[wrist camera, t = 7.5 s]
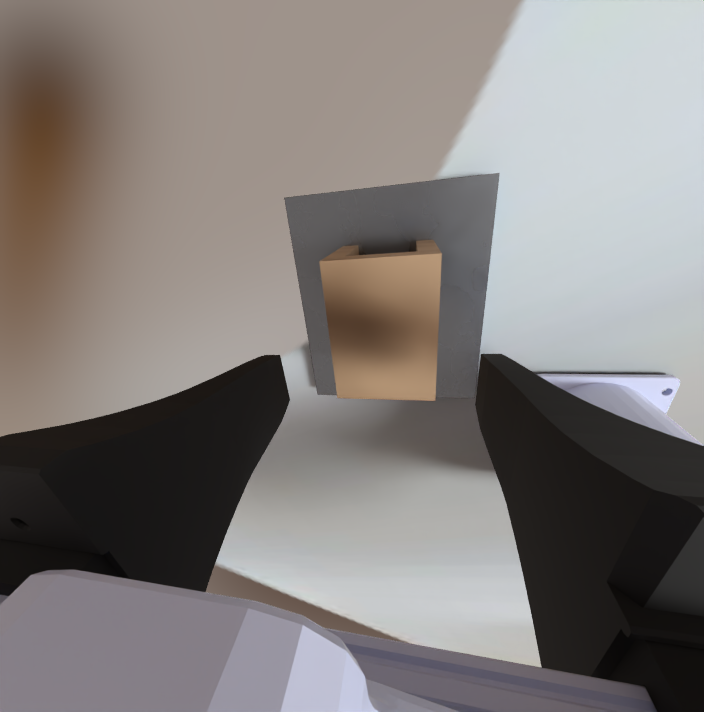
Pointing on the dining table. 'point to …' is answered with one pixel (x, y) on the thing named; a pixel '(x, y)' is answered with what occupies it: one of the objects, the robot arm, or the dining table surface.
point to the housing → (383, 321)
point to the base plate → (399, 234)
